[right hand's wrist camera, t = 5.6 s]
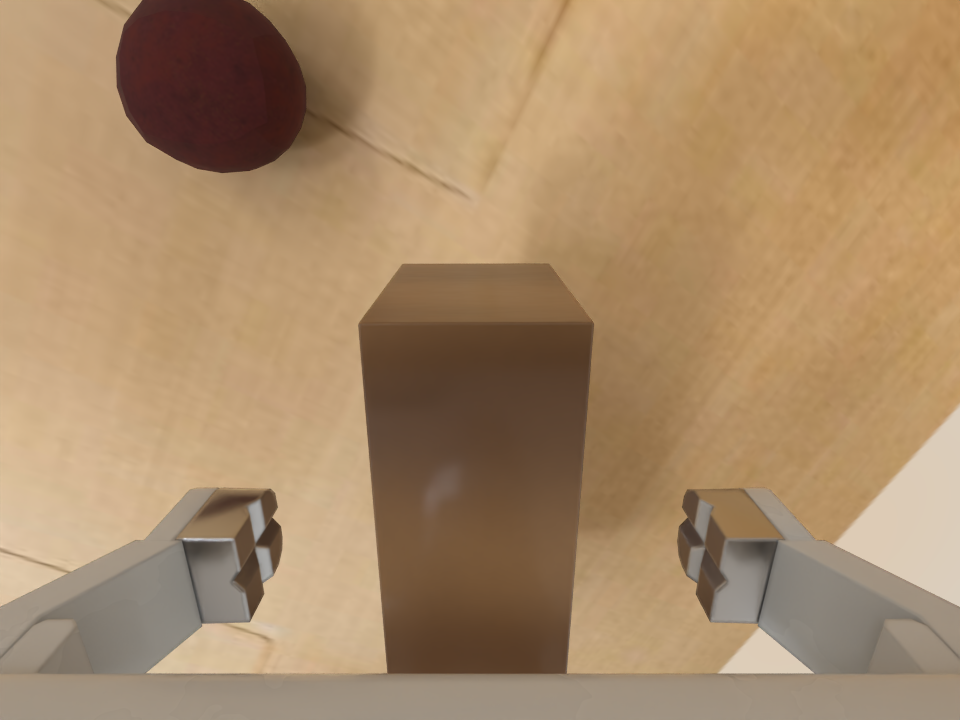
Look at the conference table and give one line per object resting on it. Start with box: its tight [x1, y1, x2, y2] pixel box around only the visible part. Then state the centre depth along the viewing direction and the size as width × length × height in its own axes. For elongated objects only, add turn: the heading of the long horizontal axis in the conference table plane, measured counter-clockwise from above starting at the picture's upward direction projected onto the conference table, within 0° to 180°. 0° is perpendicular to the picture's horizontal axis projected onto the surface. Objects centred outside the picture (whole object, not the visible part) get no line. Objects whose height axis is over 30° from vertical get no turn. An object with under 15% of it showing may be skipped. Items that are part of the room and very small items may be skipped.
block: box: [358, 264, 594, 674], centre depth 21 cm, size 22×6×8 cm, turn 0°
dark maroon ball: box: [116, 0, 306, 173], centre depth 23 cm, size 7×8×7 cm
